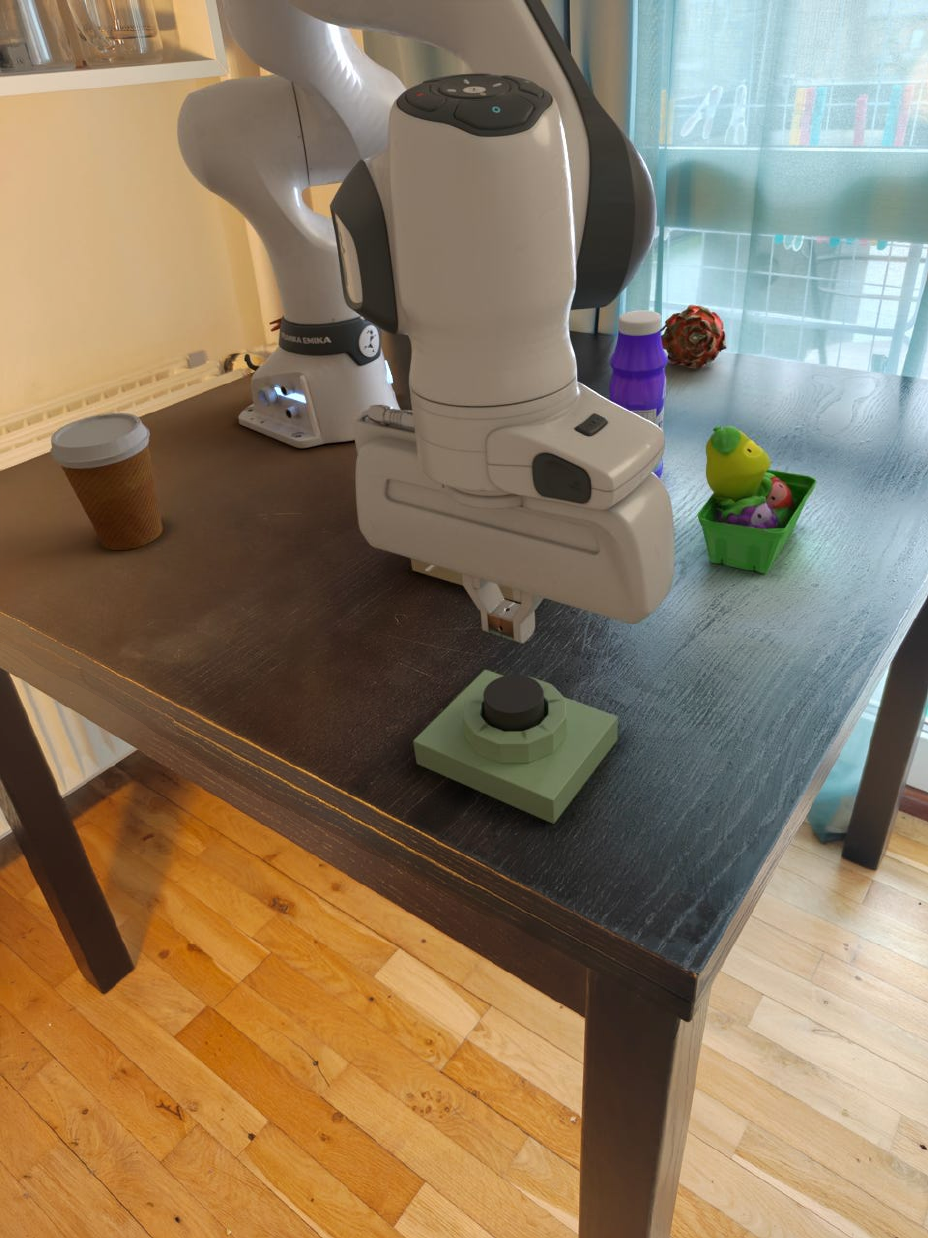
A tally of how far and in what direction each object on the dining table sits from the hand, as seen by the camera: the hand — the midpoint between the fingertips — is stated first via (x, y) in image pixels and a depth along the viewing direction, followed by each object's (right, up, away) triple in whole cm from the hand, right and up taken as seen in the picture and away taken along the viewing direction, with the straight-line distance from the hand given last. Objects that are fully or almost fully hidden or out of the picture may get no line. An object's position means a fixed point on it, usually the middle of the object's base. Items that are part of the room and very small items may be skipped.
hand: (508, 632), depth 55 cm
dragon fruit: (+29, +36, +67) cm, 81 cm away
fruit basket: (+23, +8, +26) cm, 36 cm away
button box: (+1, -8, +6) cm, 10 cm away
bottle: (+16, +16, +39) cm, 44 cm away
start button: (+1, -6, +4) cm, 7 cm away
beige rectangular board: (-1, +7, +28) cm, 29 cm away
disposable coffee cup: (-38, +10, +38) cm, 54 cm away
